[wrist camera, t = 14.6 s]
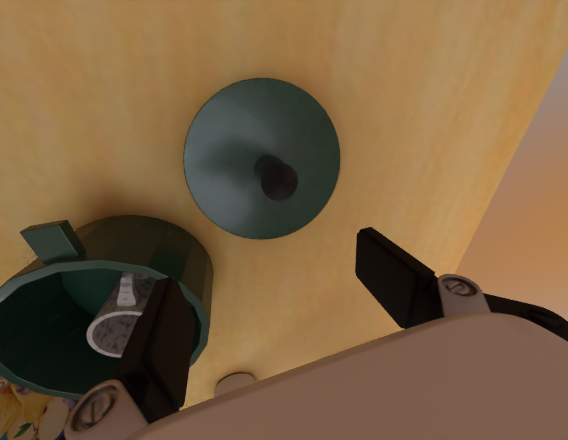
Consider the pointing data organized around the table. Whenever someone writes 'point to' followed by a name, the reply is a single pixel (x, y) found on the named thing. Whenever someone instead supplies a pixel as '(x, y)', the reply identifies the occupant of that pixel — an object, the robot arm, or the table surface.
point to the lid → (261, 158)
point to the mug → (120, 314)
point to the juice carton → (31, 413)
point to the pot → (90, 297)
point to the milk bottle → (233, 383)
